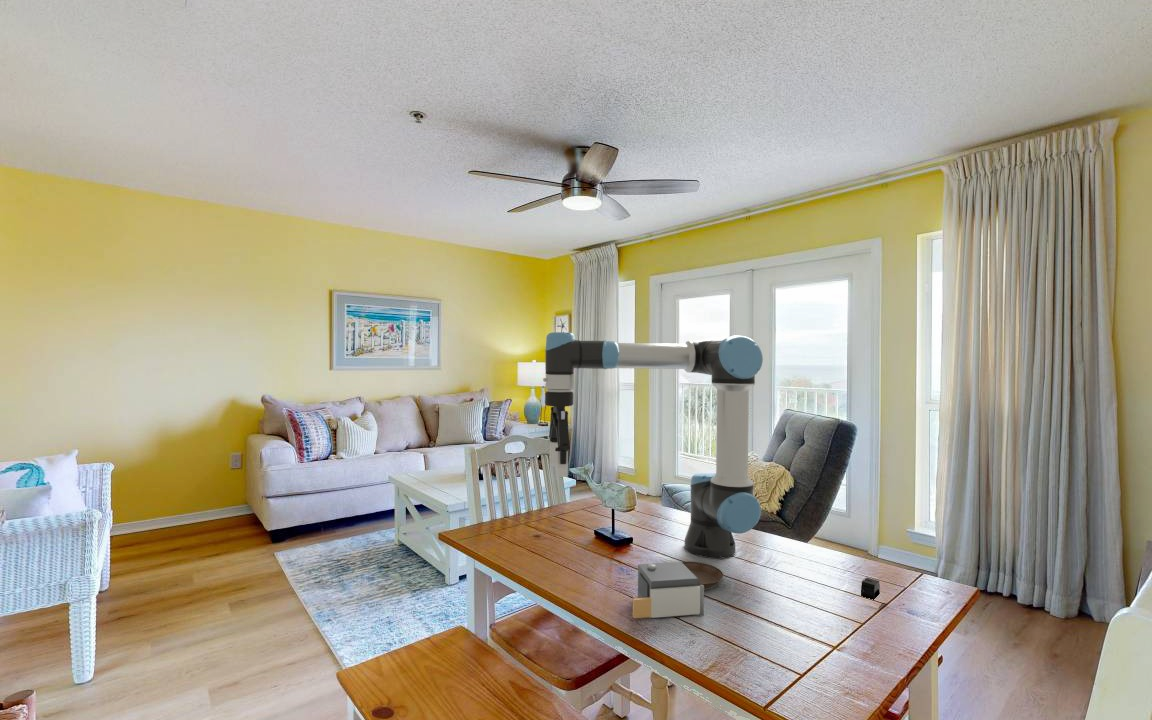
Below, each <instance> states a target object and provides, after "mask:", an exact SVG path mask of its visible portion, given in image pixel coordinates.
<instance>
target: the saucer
mask: <svg viewBox="0 0 1152 720" xmlns="http://www.w3.org/2000/svg"><path fill="white" fill-rule="evenodd" d="M681 562H682V563H683V564H684V565H685V566H686V567H687V568H688V569H689V570H690V571H691V572H692V573H693V574H695V575H696V576H697V577H698V580H699V583H700V585H704V591H705V590H709V589H710V590H711V588H713V587H715V586H717V585H718V584H719V583H720V582H721V581H722V579H723V578H724V572H723V571H722V569H720V568H718V567H716V566H714V565H712V564H708V563H705V562H699V561H690V560H689V561H688V560H687V561H681Z"/></svg>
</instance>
